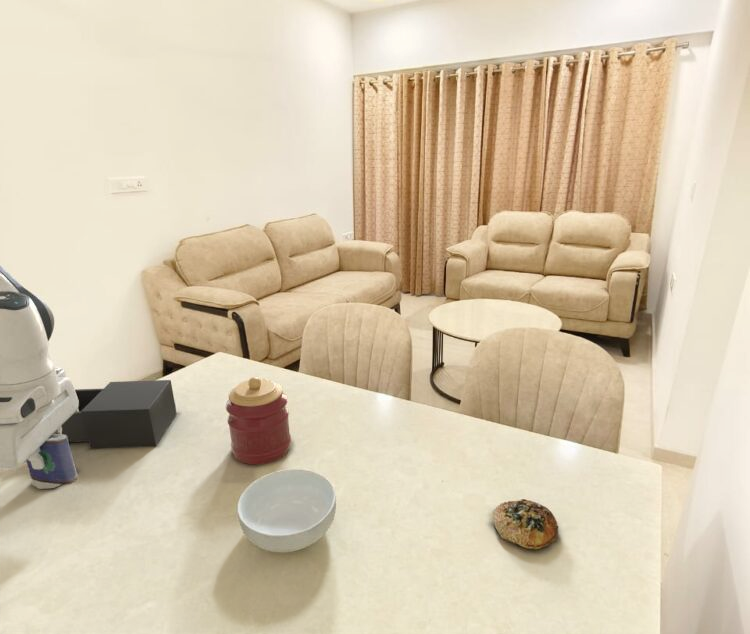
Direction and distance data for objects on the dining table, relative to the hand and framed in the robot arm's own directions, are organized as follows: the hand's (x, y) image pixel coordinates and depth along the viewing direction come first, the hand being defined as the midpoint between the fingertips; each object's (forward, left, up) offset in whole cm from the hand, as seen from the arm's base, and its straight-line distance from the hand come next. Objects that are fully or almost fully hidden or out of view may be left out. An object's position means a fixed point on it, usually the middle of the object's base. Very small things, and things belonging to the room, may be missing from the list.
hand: (48, 459), depth 88 cm
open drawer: (-12, +29, -11) cm, 33 cm away
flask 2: (-8, +11, -12) cm, 18 cm away
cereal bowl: (+42, -7, -12) cm, 45 cm away
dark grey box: (+2, +29, -12) cm, 31 cm away
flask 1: (0, 0, -4) cm, 4 cm away
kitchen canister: (+33, +19, -12) cm, 40 cm away
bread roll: (+83, -9, -12) cm, 85 cm away
